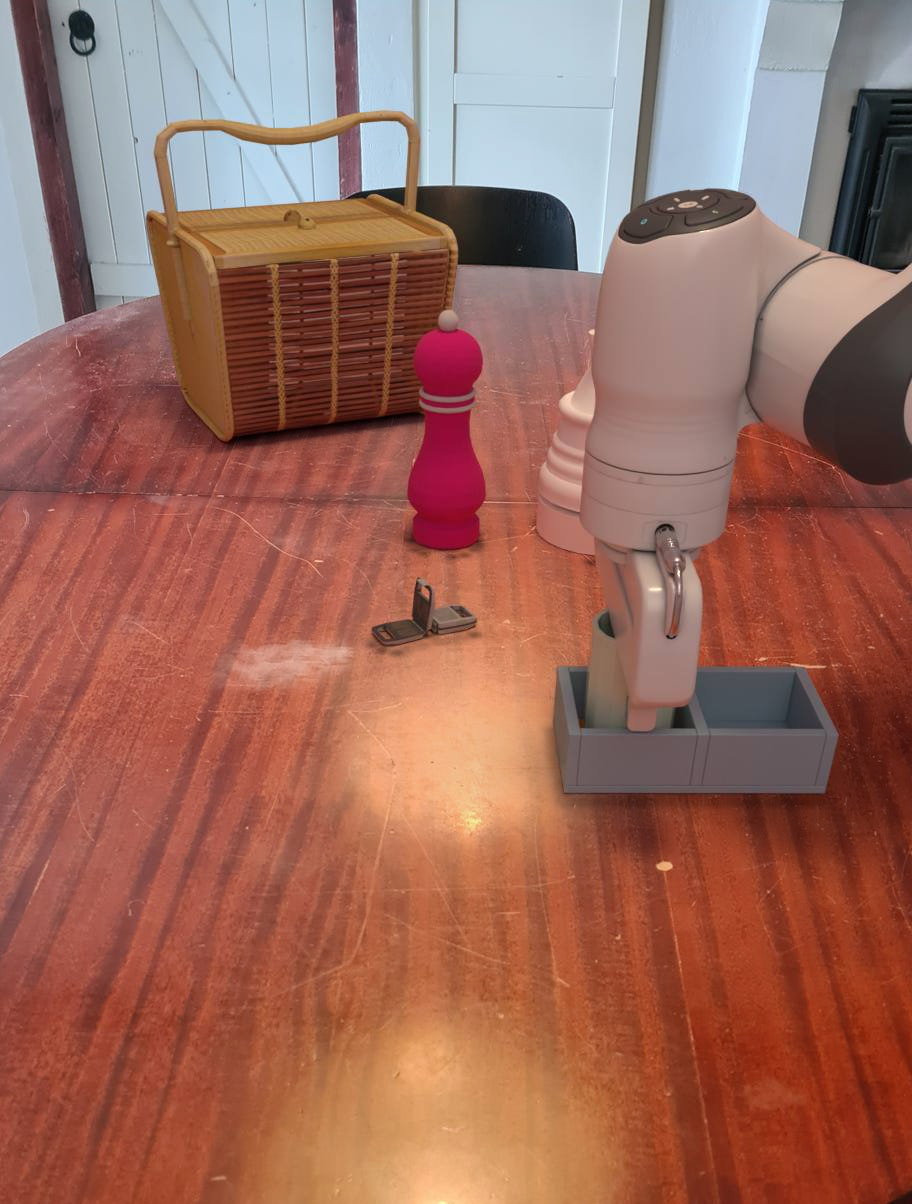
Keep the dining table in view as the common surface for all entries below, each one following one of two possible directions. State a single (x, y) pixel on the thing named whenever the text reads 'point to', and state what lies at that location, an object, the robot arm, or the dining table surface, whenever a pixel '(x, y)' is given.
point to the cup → (610, 682)
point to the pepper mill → (447, 439)
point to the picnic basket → (299, 295)
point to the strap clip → (426, 618)
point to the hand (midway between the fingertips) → (631, 696)
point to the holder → (704, 738)
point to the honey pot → (567, 471)
